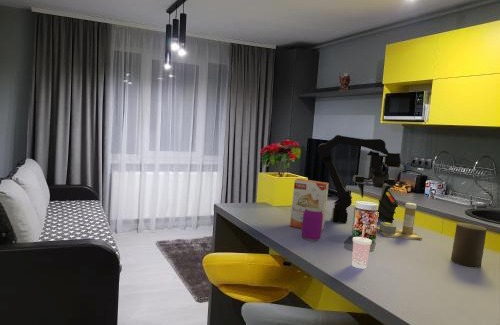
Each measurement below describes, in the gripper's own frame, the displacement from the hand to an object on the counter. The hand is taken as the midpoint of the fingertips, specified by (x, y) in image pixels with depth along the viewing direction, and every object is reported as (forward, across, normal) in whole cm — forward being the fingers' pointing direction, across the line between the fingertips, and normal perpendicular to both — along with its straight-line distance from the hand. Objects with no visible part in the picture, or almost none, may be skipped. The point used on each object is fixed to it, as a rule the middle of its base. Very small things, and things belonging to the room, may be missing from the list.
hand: (372, 198), depth 188 cm
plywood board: (+13, +10, -12) cm, 20 cm away
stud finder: (+13, +5, -12) cm, 18 cm away
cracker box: (+13, -31, -16) cm, 37 cm away
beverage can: (+13, -31, -32) cm, 47 cm away
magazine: (+13, +12, +14) cm, 23 cm away
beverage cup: (+13, -18, -59) cm, 63 cm away
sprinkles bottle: (+12, +14, -12) cm, 22 cm away
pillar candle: (+13, +24, -44) cm, 52 cm away
